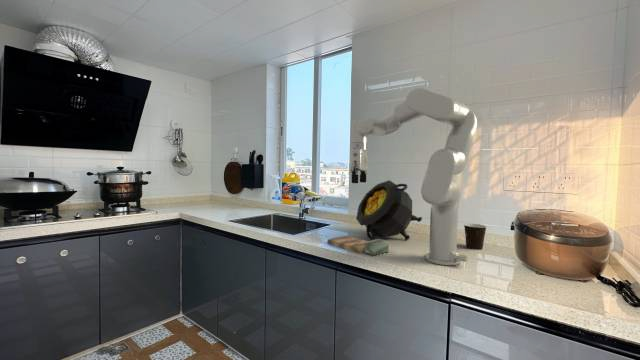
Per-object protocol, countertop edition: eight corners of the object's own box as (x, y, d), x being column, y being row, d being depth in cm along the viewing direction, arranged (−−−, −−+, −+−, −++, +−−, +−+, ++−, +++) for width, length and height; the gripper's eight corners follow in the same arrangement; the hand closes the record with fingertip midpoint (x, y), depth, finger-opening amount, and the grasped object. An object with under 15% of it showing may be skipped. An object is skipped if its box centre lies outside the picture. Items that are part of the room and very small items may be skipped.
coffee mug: (467, 244, 133) (468, 222, 132) (488, 247, 127) (488, 225, 126) (458, 248, 125) (458, 226, 124) (479, 253, 118) (480, 229, 118)
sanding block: (388, 253, 118) (388, 241, 118) (374, 257, 112) (374, 244, 112) (379, 250, 122) (379, 238, 122) (364, 254, 116) (364, 241, 116)
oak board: (378, 248, 124) (378, 243, 124) (360, 253, 116) (360, 248, 116) (345, 239, 139) (345, 235, 139) (327, 243, 131) (327, 239, 131)
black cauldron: (432, 235, 128) (398, 204, 120) (383, 258, 143) (350, 232, 135) (423, 195, 150) (394, 166, 142) (381, 218, 165) (353, 194, 156)
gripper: (359, 145, 126) (359, 183, 127) (373, 148, 141) (372, 182, 141) (344, 146, 130) (344, 183, 131) (359, 148, 145) (358, 181, 145)
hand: (359, 182), depth 136 cm, fingers open, 9 cm apart
